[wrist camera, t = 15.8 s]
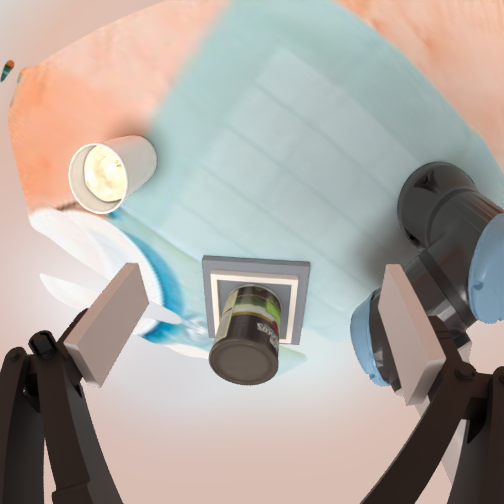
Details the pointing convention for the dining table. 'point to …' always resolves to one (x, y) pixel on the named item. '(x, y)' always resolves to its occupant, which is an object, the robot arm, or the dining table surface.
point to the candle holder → (111, 171)
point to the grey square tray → (262, 273)
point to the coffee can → (248, 336)
